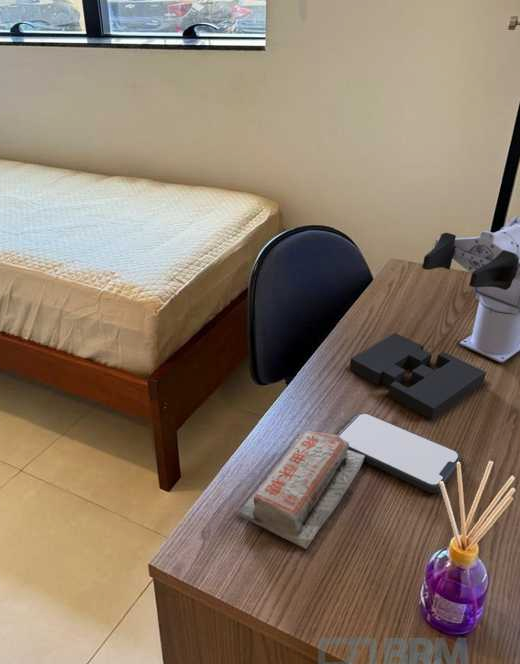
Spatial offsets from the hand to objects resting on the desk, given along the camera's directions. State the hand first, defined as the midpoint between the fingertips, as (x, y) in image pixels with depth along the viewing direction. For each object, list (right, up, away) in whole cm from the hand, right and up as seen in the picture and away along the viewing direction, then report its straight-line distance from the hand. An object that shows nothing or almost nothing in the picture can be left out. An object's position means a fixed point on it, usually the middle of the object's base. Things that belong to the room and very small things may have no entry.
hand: (448, 271), depth 88 cm
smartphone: (-8, -27, 0) cm, 28 cm away
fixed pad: (+3, -18, +11) cm, 22 cm away
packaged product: (-22, -31, -4) cm, 38 cm away
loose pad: (-2, -15, +18) cm, 23 cm away
